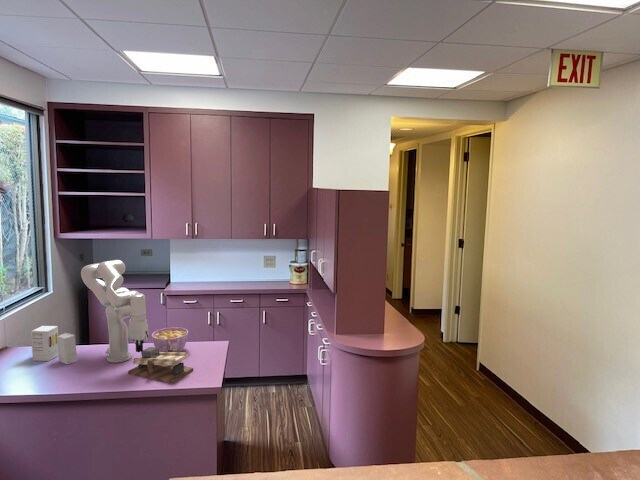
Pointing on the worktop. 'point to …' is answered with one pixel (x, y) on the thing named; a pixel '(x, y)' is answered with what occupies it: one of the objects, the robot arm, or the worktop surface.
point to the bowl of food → (170, 339)
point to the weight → (150, 352)
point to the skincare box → (67, 348)
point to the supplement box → (44, 343)
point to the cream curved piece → (163, 358)
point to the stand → (161, 371)
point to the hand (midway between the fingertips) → (139, 351)
